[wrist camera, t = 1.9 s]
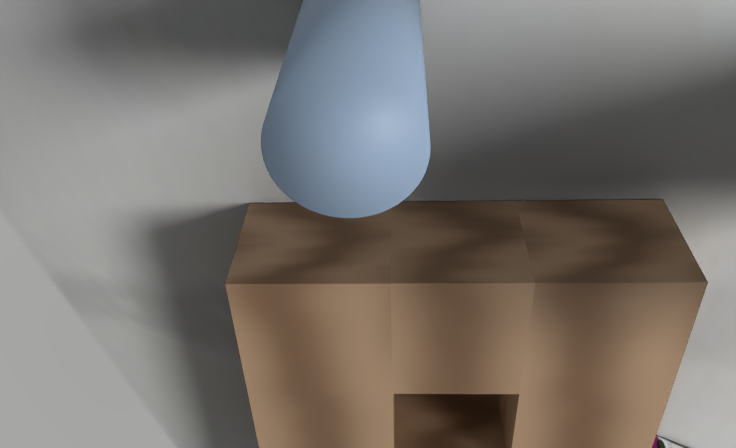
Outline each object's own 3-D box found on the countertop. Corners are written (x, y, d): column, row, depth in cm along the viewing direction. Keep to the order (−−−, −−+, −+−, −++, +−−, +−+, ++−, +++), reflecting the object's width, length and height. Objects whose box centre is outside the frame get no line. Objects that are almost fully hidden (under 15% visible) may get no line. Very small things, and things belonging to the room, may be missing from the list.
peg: (419, -62, 27) (432, 68, 17) (418, 49, 29) (429, 217, 20) (302, -59, 27) (250, 71, 17) (312, 52, 30) (271, 218, 20)
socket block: (662, 199, 33) (707, 282, 29) (596, 453, 45) (619, 542, 40) (249, 203, 34) (225, 284, 30) (289, 451, 46) (277, 537, 41)
